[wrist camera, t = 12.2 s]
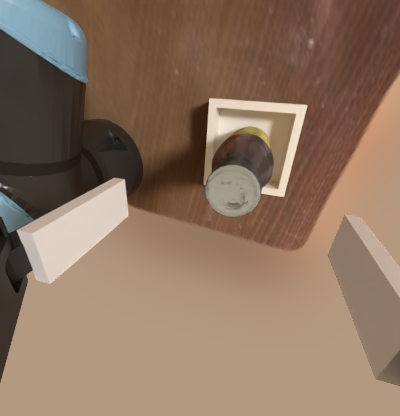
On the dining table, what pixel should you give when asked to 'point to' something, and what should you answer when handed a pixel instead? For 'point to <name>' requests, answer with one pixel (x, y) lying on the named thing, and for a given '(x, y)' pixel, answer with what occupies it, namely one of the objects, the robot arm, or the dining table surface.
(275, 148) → the square white tray
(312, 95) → the dining table surface
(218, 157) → the sauce bottle
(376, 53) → the dining table surface
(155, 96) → the dining table surface
